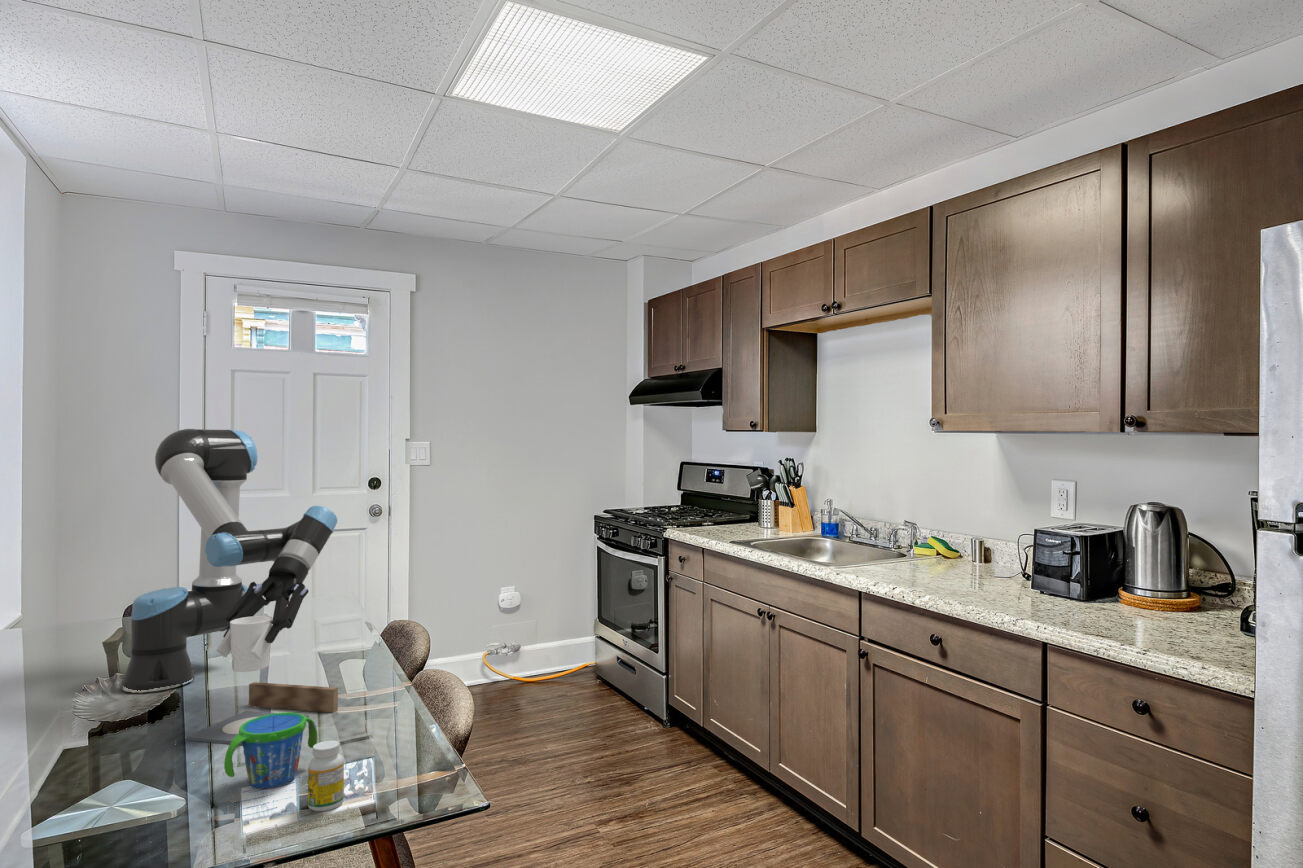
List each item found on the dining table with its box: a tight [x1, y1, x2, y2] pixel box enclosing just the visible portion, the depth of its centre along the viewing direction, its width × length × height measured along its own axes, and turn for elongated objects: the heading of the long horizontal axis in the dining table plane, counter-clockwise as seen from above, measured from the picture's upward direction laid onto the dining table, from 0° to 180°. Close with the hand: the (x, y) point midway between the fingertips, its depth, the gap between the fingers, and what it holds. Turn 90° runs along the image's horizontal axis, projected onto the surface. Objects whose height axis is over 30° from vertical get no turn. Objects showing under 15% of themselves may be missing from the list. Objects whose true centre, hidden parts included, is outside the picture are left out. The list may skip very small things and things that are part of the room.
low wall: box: [248, 681, 339, 713], centre depth 168 cm, size 22×2×5 cm, turn 77°
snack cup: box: [223, 711, 319, 789], centre depth 130 cm, size 16×10×10 cm
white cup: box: [230, 615, 273, 673], centre depth 156 cm, size 8×8×10 cm
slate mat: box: [185, 710, 310, 746], centre depth 155 cm, size 16×16×1 cm
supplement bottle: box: [307, 740, 345, 812], centre depth 120 cm, size 5×5×10 cm
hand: (238, 654), depth 152 cm, fingers closed on white cup, 8 cm apart
